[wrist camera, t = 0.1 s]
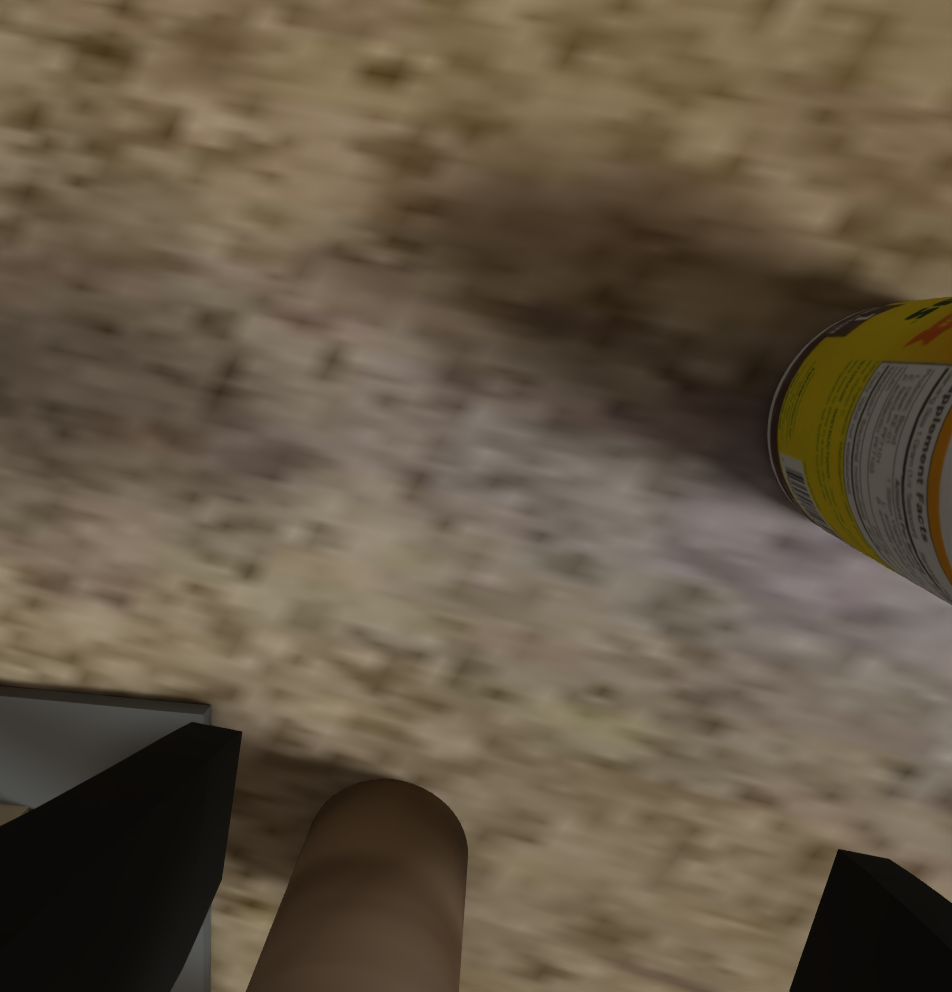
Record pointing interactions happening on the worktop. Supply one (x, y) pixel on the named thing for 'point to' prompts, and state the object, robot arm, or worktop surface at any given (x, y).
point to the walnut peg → (372, 898)
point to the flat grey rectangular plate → (85, 760)
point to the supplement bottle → (874, 437)
